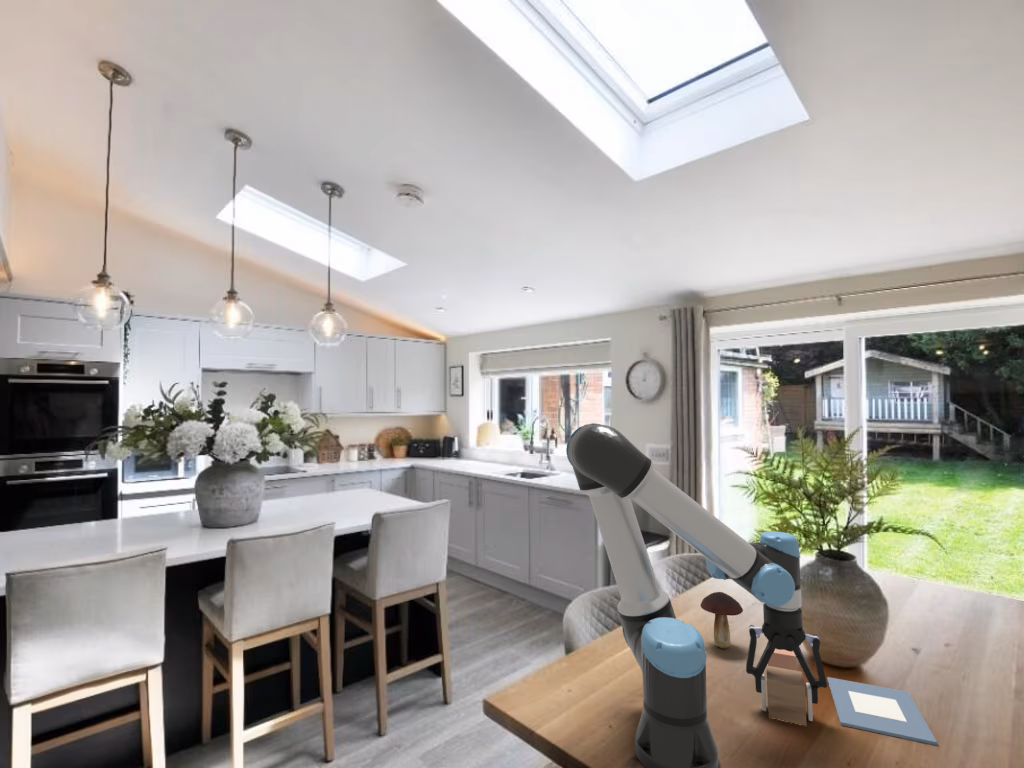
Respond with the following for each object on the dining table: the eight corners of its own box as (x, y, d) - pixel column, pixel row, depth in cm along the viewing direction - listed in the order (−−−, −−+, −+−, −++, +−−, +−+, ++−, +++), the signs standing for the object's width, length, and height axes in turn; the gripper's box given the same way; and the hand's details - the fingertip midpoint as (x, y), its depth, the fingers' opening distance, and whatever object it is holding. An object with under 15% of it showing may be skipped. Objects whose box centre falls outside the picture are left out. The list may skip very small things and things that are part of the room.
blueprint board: (937, 745, 99) (937, 741, 99) (840, 725, 106) (840, 721, 106) (908, 694, 117) (907, 691, 117) (827, 679, 124) (827, 676, 124)
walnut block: (806, 727, 105) (804, 687, 106) (768, 718, 108) (767, 680, 109) (803, 709, 111) (801, 671, 112) (767, 701, 114) (766, 665, 115)
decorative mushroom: (709, 635, 149) (707, 583, 150) (748, 646, 142) (746, 591, 143) (695, 649, 140) (694, 593, 141) (737, 660, 133) (735, 602, 134)
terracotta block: (797, 691, 118) (796, 656, 119) (768, 686, 121) (767, 651, 121) (795, 679, 124) (794, 645, 124) (768, 674, 126) (766, 641, 127)
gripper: (835, 606, 110) (840, 714, 109) (730, 593, 119) (734, 693, 118) (841, 618, 103) (846, 734, 102) (729, 603, 112) (733, 710, 111)
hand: (786, 712), depth 110 cm, fingers open, 8 cm apart
